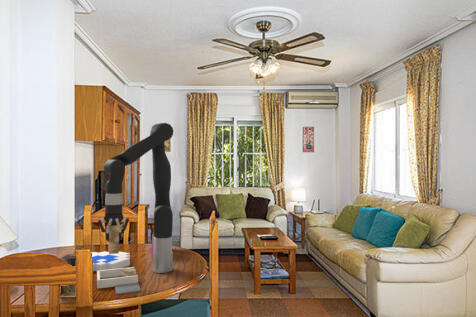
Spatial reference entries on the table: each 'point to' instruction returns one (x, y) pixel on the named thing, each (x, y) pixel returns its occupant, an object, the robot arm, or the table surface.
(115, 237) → the tan upright block
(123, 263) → the pixel art tile
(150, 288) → the table surface
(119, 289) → the mat
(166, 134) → the robot arm
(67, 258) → the coffee box
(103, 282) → the u-shaped fence
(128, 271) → the offcut upper
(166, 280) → the table surface
